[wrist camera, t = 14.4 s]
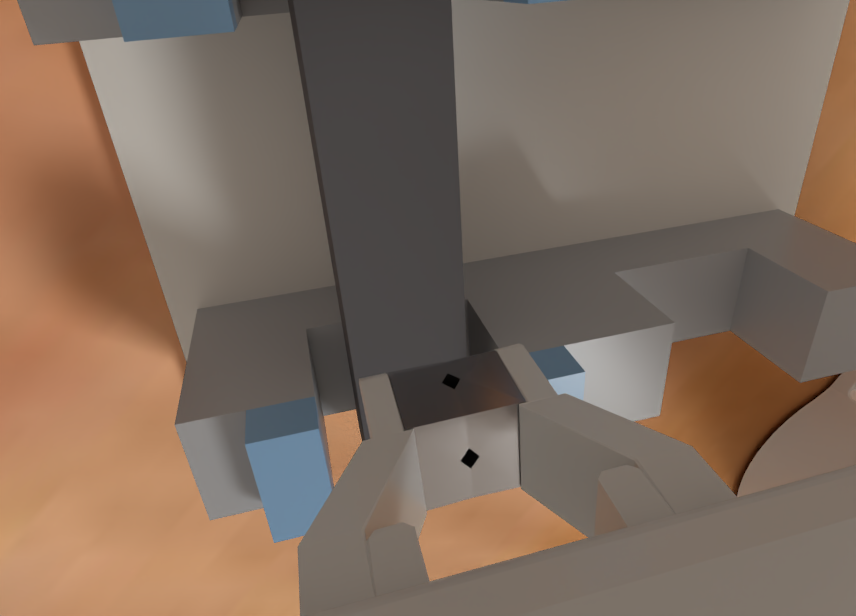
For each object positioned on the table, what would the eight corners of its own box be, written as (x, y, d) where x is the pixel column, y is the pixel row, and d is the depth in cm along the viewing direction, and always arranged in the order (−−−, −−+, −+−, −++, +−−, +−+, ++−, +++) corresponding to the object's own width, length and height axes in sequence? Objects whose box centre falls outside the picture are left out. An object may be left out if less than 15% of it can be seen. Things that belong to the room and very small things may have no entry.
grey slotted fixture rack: (878, -206, 21) (1266, -323, 13) (758, 290, 31) (934, 400, 23) (16, -180, 16) (-234, -341, 8) (205, 400, 26) (180, 588, 18)
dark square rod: (400, -233, 14) (438, -290, 11) (445, 408, 24) (472, 470, 21) (249, -230, 14) (245, -290, 11) (359, 427, 24) (373, 494, 21)
